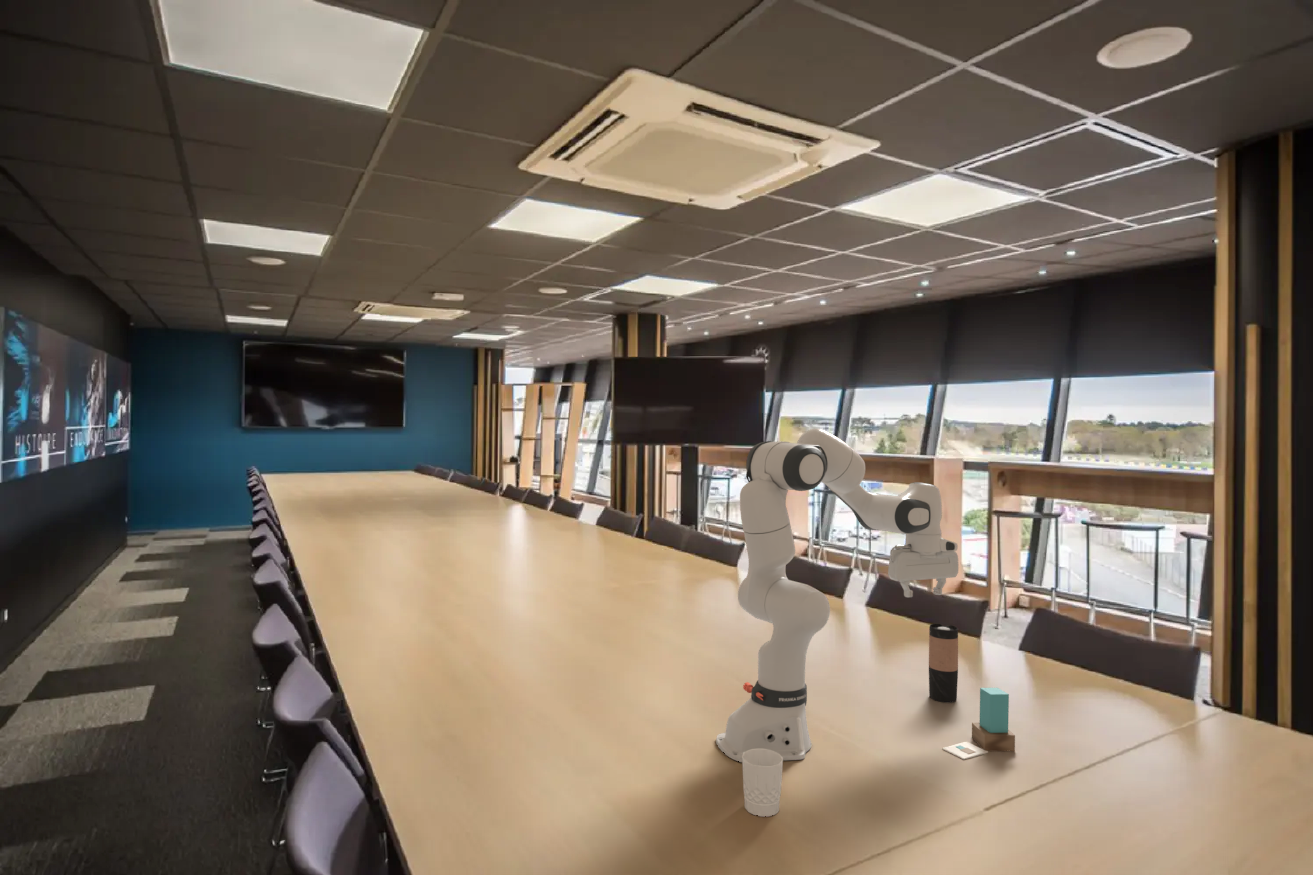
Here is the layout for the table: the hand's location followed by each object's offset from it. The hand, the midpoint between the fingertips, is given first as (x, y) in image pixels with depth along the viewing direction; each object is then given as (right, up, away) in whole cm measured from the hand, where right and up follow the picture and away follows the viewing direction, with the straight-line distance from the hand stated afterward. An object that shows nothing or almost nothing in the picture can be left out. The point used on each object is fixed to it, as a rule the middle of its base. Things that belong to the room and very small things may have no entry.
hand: (923, 595), depth 187 cm
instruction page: (+1, -31, -23) cm, 39 cm away
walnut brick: (+10, -32, -19) cm, 38 cm away
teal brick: (+10, -28, -19) cm, 35 cm away
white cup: (-50, -31, -49) cm, 77 cm away
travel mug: (+10, -31, +11) cm, 35 cm away
